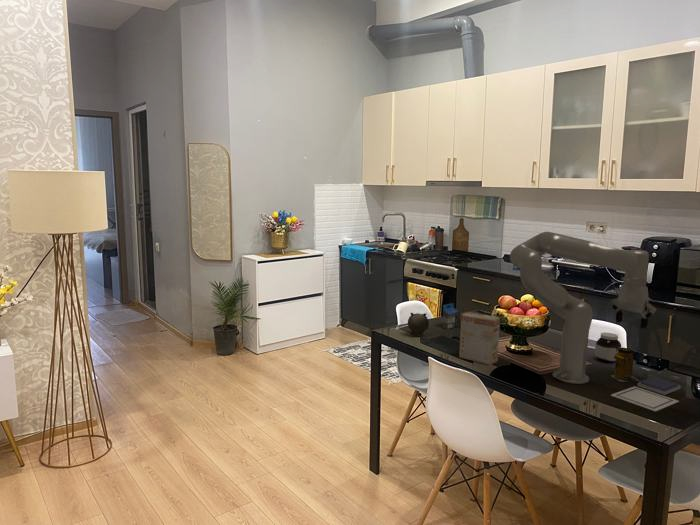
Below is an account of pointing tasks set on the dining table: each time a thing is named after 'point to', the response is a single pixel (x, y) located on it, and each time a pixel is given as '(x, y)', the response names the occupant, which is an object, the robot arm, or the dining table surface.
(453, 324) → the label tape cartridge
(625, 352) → the condiment
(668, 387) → the ink pad
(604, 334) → the spread jar
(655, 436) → the dining table surface
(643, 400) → the marked sheet
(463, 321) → the coffeecake box
